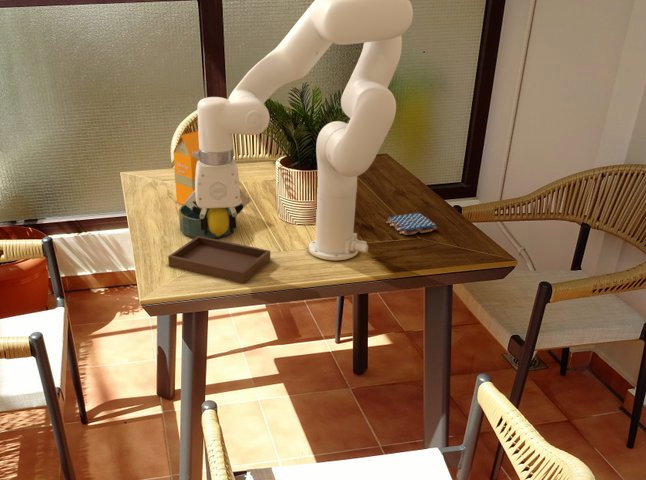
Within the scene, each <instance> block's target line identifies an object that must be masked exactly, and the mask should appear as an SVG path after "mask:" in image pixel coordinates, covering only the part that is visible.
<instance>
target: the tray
mask: <svg viewBox="0 0 646 480" xmlns="http://www.w3.org/2000/svg"><path fill="white" fill-rule="evenodd" d="M167 259H168V260H167V261H168V267H172V268H175V269H180V270H184V271H189V272H194V273H197V274H202V275H205V276H210V277H215V278H219V279H223V280H227V281H232V282H236V283H240V284H245V283H246V282H247V281H249V279H251V278H252V277H254V275H255V274H257V273H258V272H259V271H260V270H261V269H262V268H264V267H265V266H266V265H267V264H268V263H269V262H270V261H271V250H268V249H265V248H264V249H263V248H260V247H256V246H255V247H254V246H249V245H245V244H240V243H235V242H231V241H226V240H221V239H218V238H215V239H212V238H207V237H202V236H197V237H196V238H193V239H191V240H189V241H188V242H187V243H185V244H184V245H182V246H181V247H179V248H178V249H177V250H175V251H174V252H172V253H170V254H169V255H167Z"/></svg>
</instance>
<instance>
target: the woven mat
mask: <svg viewBox="0 0 646 480" xmlns="http://www.w3.org/2000/svg"><path fill="white" fill-rule="evenodd" d="M432 221H433V220H430V219H429V218H427V216H424V215H423V214H422V213H420V212H414V213H411V212H410V213H408V214H406V213H404V214H399V215H396V214H394V215H393V216H391V215H388V218H387V221H386V224H389V226H390V227H394V229H395V230H396V231H398V232H399V234H402V235H403V236H411V235H415V234H417V233H420V234H424V233H430V232H433V231H436V230H437V229H438V228H437V226H438V225H437V224H436V223H435V222H432Z"/></svg>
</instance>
